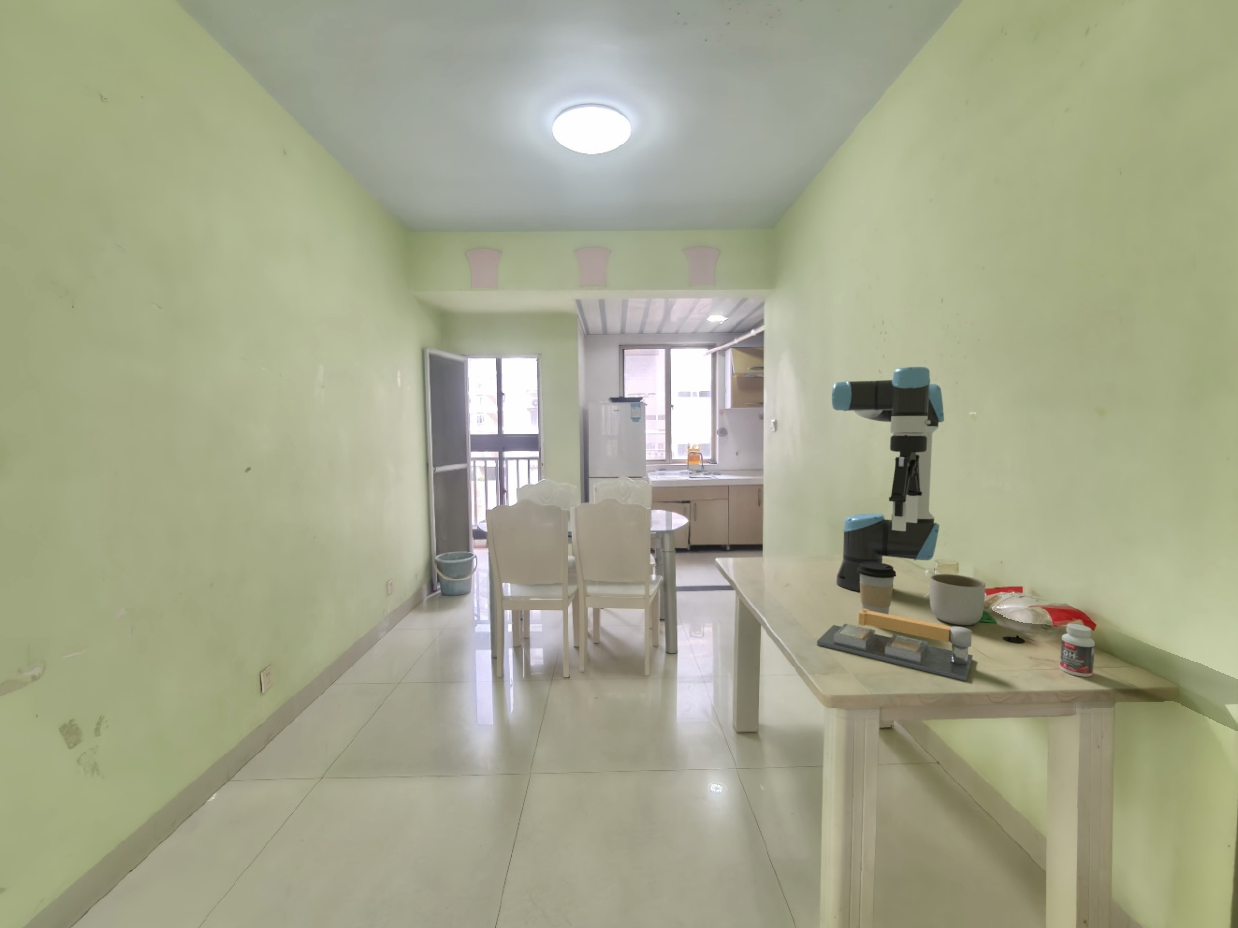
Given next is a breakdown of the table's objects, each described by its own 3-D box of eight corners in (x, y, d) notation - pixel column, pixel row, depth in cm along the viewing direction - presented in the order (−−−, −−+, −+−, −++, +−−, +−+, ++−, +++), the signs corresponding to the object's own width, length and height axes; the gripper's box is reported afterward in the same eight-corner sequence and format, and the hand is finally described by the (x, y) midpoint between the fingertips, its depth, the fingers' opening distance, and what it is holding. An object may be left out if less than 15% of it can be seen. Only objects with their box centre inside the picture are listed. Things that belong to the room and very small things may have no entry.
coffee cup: (898, 628, 140) (901, 571, 139) (859, 625, 142) (861, 569, 141) (888, 616, 149) (890, 562, 148) (851, 613, 151) (853, 560, 150)
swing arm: (972, 642, 118) (972, 629, 118) (970, 648, 115) (970, 634, 115) (863, 620, 132) (863, 607, 132) (858, 624, 129) (859, 612, 128)
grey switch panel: (833, 628, 140) (833, 610, 139) (972, 659, 121) (973, 639, 121) (817, 644, 129) (817, 625, 129) (966, 681, 111) (967, 658, 111)
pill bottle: (1059, 672, 115) (1062, 627, 115) (1060, 663, 119) (1062, 620, 119) (1093, 680, 112) (1096, 633, 111) (1092, 671, 116) (1095, 626, 115)
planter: (954, 630, 139) (956, 588, 138) (918, 613, 151) (919, 575, 150) (995, 626, 141) (997, 585, 140) (956, 610, 153) (958, 572, 153)
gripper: (916, 435, 115) (912, 536, 116) (936, 434, 134) (932, 520, 136) (878, 435, 120) (874, 532, 121) (902, 433, 139) (898, 517, 140)
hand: (904, 526), depth 128 cm, fingers open, 12 cm apart
